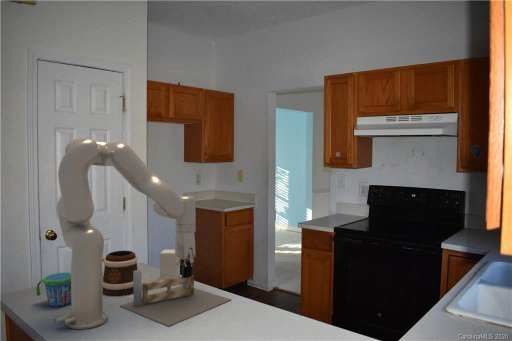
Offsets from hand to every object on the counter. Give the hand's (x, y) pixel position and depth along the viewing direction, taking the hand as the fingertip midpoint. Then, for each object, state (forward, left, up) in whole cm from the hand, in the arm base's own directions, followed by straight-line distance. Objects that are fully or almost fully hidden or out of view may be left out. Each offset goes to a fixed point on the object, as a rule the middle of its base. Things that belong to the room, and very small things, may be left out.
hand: (185, 275), depth 154 cm
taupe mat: (-6, -2, -9) cm, 11 cm away
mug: (-11, +29, -9) cm, 33 cm away
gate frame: (-6, +6, -9) cm, 12 cm away
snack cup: (-33, +31, -9) cm, 47 cm away
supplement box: (+11, +22, -9) cm, 26 cm away
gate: (-6, +2, -8) cm, 10 cm away
